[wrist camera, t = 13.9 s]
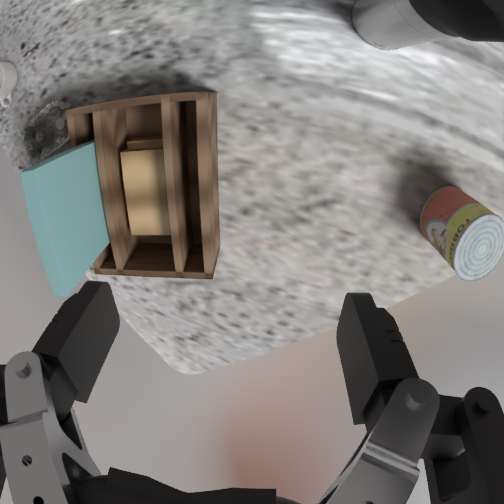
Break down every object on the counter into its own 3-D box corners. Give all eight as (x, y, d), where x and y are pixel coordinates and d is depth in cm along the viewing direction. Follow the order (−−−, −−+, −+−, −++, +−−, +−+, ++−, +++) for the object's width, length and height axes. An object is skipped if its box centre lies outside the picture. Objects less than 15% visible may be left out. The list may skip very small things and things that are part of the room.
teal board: (107, 134, 39) (19, 172, 22) (118, 132, 39) (33, 170, 21) (118, 220, 46) (53, 295, 28) (129, 220, 46) (67, 296, 28)
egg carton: (70, 94, 37) (55, 96, 33) (85, 134, 40) (71, 138, 37) (28, 125, 39) (14, 129, 35) (42, 161, 42) (29, 168, 39)
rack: (100, 103, 38) (66, 109, 30) (216, 91, 38) (205, 91, 29) (118, 243, 50) (95, 273, 41) (220, 245, 49) (212, 279, 41)
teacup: (-7, 78, 33) (-26, 81, 28) (16, 51, 31) (-4, 52, 26) (8, 117, 37) (-11, 122, 33) (32, 91, 36) (12, 94, 31)
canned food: (416, 194, 44) (454, 225, 34) (468, 179, 42) (509, 206, 31) (421, 251, 49) (452, 290, 39) (468, 235, 47) (503, 268, 37)
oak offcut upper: (127, 148, 38) (120, 152, 36) (168, 145, 38) (163, 149, 35) (137, 227, 44) (131, 234, 41) (175, 227, 44) (170, 235, 41)
